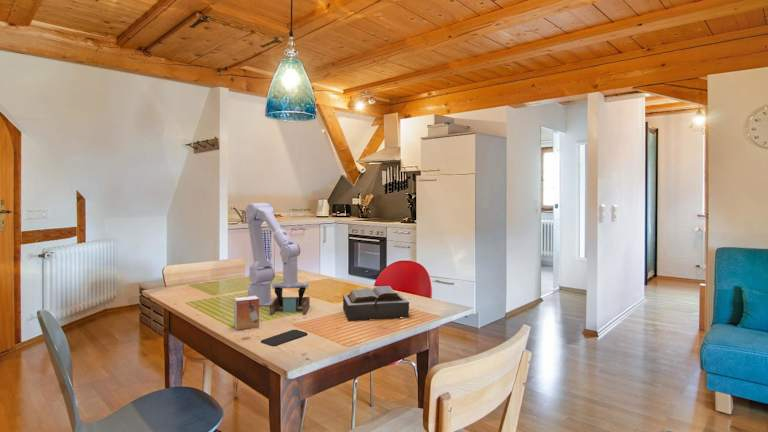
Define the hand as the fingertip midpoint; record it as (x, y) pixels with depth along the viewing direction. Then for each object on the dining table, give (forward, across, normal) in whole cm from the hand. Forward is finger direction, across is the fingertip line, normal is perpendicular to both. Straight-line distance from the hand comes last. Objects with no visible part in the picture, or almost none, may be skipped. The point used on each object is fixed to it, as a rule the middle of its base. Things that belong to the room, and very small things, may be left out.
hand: (290, 305), depth 179 cm
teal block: (+2, 0, 0) cm, 2 cm away
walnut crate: (+2, 0, 0) cm, 2 cm away
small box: (+2, -12, -22) cm, 25 cm away
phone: (+2, +4, -35) cm, 35 cm away
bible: (+2, +35, -5) cm, 35 cm away
